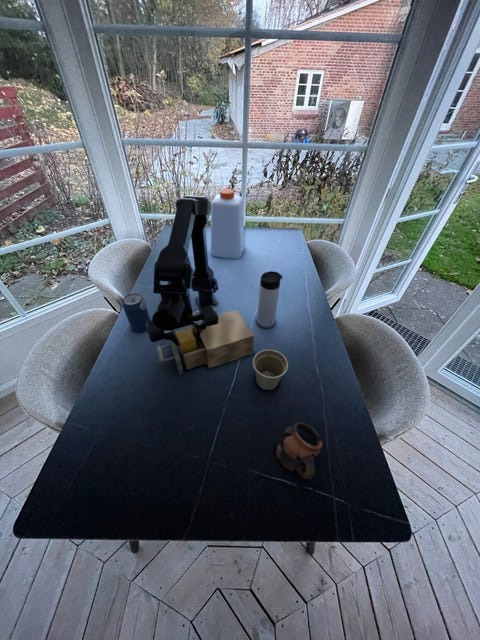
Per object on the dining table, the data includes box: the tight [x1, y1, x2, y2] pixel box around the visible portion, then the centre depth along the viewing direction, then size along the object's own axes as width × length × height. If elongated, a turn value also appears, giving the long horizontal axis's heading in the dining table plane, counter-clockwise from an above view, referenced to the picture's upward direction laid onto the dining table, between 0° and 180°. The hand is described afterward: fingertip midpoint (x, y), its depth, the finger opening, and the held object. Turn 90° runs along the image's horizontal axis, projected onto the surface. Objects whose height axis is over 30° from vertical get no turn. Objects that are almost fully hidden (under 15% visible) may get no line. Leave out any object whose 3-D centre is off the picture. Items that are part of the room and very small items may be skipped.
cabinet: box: [200, 309, 255, 369], centre depth 83 cm, size 15×13×9 cm
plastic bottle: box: [210, 188, 245, 260], centre depth 121 cm, size 15×15×28 cm
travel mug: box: [256, 270, 283, 329], centre depth 88 cm, size 6×7×20 cm
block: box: [175, 327, 197, 354], centre depth 77 cm, size 4×4×4 cm
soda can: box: [122, 293, 152, 332], centre depth 88 cm, size 7×7×12 cm
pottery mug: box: [275, 421, 323, 480], centre depth 60 cm, size 12×10×8 cm
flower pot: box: [252, 349, 289, 391], centre depth 74 cm, size 9×9×9 cm
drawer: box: [155, 326, 208, 375], centre depth 79 cm, size 18×11×7 cm, turn 114°
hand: (186, 343), depth 78 cm, fingers closed on block, 4 cm apart
